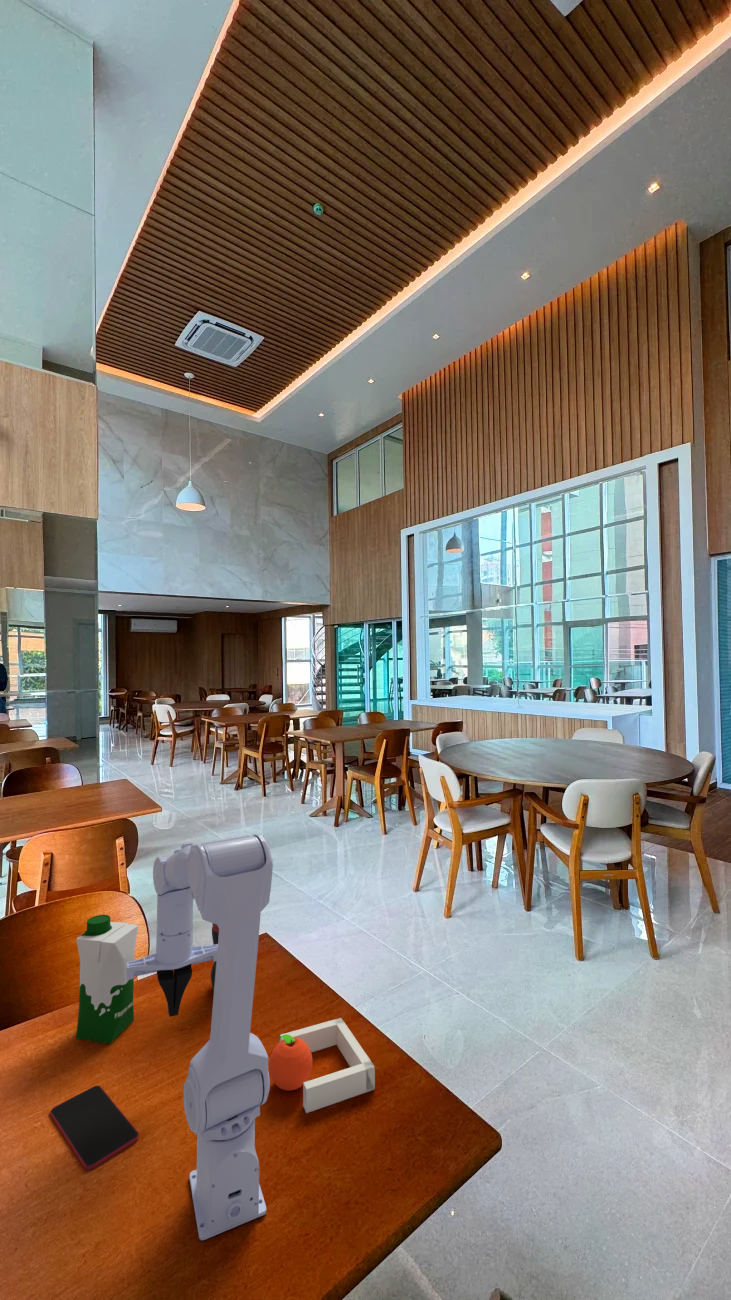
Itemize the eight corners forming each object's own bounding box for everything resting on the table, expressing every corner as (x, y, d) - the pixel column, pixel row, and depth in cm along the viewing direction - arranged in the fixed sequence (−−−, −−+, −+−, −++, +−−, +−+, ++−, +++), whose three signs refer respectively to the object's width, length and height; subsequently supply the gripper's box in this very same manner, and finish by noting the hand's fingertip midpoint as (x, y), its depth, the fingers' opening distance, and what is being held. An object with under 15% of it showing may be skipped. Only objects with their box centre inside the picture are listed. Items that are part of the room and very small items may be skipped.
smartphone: (98, 1083, 88) (141, 1135, 78) (98, 1089, 88) (141, 1141, 78) (48, 1109, 83) (87, 1169, 73) (48, 1116, 83) (86, 1176, 73)
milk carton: (100, 1012, 107) (103, 908, 108) (141, 1018, 106) (144, 912, 107) (67, 1041, 99) (71, 928, 100) (112, 1048, 97) (115, 933, 98)
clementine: (258, 1078, 90) (259, 1033, 90) (295, 1060, 94) (296, 1018, 94) (281, 1109, 84) (282, 1060, 84) (320, 1088, 88) (320, 1042, 88)
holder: (374, 1089, 88) (374, 1066, 88) (306, 1113, 83) (306, 1089, 83) (341, 1037, 100) (341, 1017, 100) (280, 1055, 95) (280, 1034, 96)
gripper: (214, 911, 98) (213, 989, 97) (126, 926, 92) (124, 1010, 91) (222, 927, 92) (221, 1011, 91) (128, 945, 85) (126, 1035, 85)
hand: (173, 1012), depth 91 cm, fingers closed
